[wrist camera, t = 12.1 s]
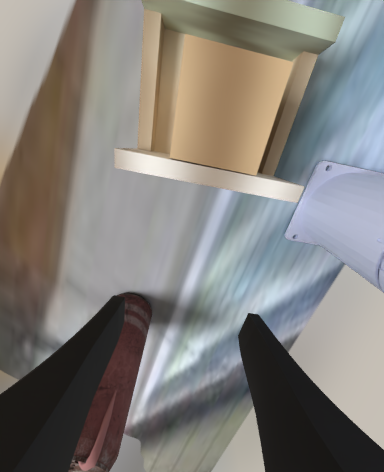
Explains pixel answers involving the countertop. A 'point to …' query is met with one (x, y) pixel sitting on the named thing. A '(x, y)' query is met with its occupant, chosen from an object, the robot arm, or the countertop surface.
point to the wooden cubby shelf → (234, 34)
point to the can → (114, 393)
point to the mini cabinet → (226, 104)
